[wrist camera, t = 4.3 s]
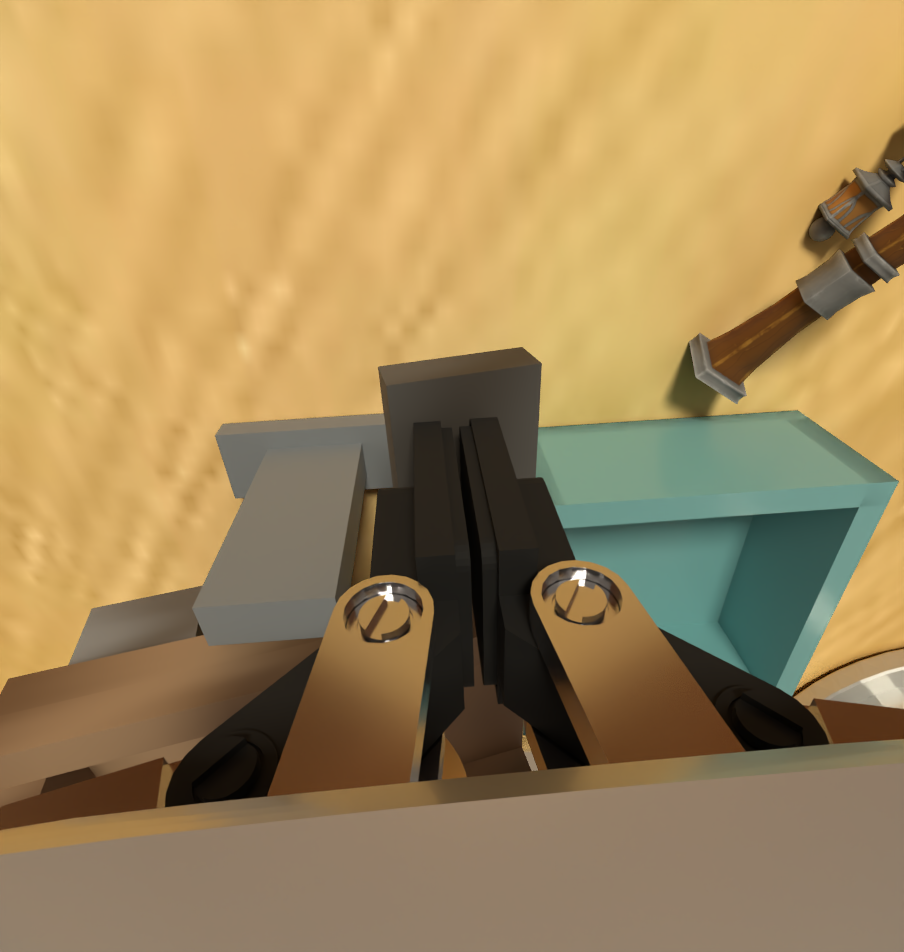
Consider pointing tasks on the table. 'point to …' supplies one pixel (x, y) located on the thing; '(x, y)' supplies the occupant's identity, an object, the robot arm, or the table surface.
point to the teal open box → (721, 525)
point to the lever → (261, 663)
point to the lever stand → (290, 525)
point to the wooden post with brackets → (812, 284)
